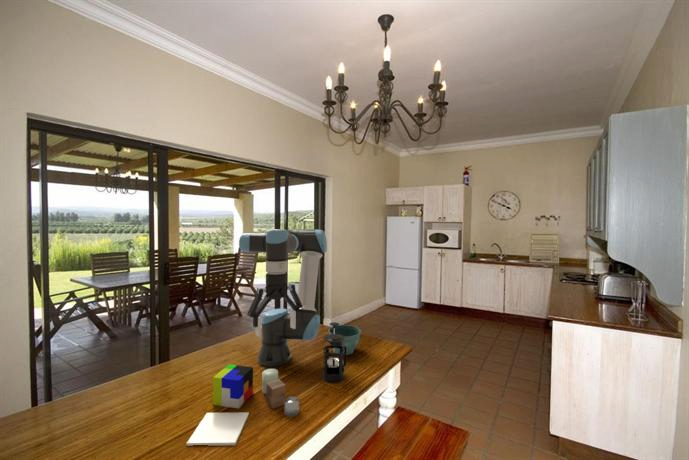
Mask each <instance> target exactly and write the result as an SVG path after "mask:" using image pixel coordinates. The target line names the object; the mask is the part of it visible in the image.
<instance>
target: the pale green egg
mask: <svg viewBox="0 0 689 460" xmlns="http://www.w3.org/2000/svg"><path fill="white" fill-rule="evenodd" d="M278 379H279V370H278V369H276V368H267V369H264V370H263V371H262V373H261V387H262V388H261V392H262V394H264V395H266V383H269V382H272V381H275V380H278Z"/></svg>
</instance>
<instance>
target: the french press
mask: <svg viewBox="0 0 689 460" xmlns="http://www.w3.org/2000/svg"><path fill="white" fill-rule="evenodd" d="M338 325H340V323H339V322H334V321H332V322H330V323H329V326H331V327H333V328H334V334H329V333H328V334H326V335H324V336H323V338H322V339H323V341H324V343H326V342H328V344H329V345H326V346H324V347H323V348H322V350H323V356H324V360H323V368H322V377H321V378H322V380H323V381H324V382H327V383H331V384H338V383H340V382H343V381H344V380H345V377H346V375H345V367H347V355H346V346H344V345H343V343H344V339H345V337H344V336H343V335H340V334H335V326H338ZM341 345H342V346H341ZM334 348H339V349H340V353H336V352H335V349H334ZM330 349H333V353H331V352H330ZM332 373H335V374H332Z"/></svg>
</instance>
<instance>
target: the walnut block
mask: <svg viewBox="0 0 689 460" xmlns="http://www.w3.org/2000/svg"><path fill="white" fill-rule="evenodd" d="M265 396H266V398H265V399H266V404H267V405H268V406H269V407H270V408H271V409H272V410H273V409H276V408H279V407H281V406H284V400H285V399H286V384H285V383H284V381H282V380H281V379H279V378H278V380H275V381H272V382H269V383H266V394H265Z"/></svg>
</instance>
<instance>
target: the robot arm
mask: <svg viewBox="0 0 689 460" xmlns="http://www.w3.org/2000/svg"><path fill="white" fill-rule="evenodd" d="M327 242H328V241H327V236H326V233H325V231H324V230H323V229H316V228H314V229H313V228H312V229H307V228H306V229H300V228H294V229H293V228H292V229H284V228H283V229H282V228H281V229H280V228H277V229H275V228H273V229H271V228H270V229H267V230H266V232H265V233H264V232H263V233H260V232H259V233H255V232H254V233H251V232H247V233H245V232H244V233H242V234H241V235H240V237H239V240H238V245H239V246H238V247H239V249H240V251H241V252H243V253H261V254H262V253H265V272H266V273H265V287H262V288H261V287H257V288H256V292H255V293H256V294H255V296H254V298H253V301H252V303H251V304H250V307H249V309H248V312H247V316H248V317H250V318H252V326H253V328H255V329H254V332H255V333H254V335H255V336H256V337H257V338H261V346H260V349H259V352H258V355H257V363H258V364H259V365H261V366H264V367H271V368H272V367H279V366H283V365H286V364H287V363H289V362H290V361H291V359H292V358H291V357H292V355H291V350H290V347H289V344H288V340H293V341H294V340H295V341H303V342H307V341H313V340H315V339H316V337H317V335H318V333H319V329H320V325H321V324H320V323H321V316H320V315H319V314H318V311H317V309H316V308H315V303H316V295H317V294H316V293H317V283H318V276H319V265H320V264H319V263H320V259H322V257H323V256H324V255H323V254H325V253H327V250H328V247H327V246H328V243H327ZM294 252H298V253H299V255H300V256H301V264H300V274H299V280H298V281H299V282H298V290H297V291H296V285H295V284H293V283H289V284H288V273H287V272H288V259H289V258H288V257H289V256H288V255H289V254H291V253H294ZM287 291H289V293H290V295H291V297H292V299H293V300H292V299H291V298H290V296H289V295H288V294H287ZM265 293H266V294H265ZM264 294H265V295H264ZM263 295H264V296H263ZM262 297H263V299H262ZM278 299H279V300H280V299H284V301H285V302H286V303H287V304H288V305H289V306H290V308H291V309H290V312H288V309H286V308H274V309H271V310H267V311H265V312H264V313H263V311H264V310H265V308H266V307H267V306H268V304H270V302H271V301H272V300H278ZM261 300H262V301H261ZM262 313H263V314H262ZM261 314H262V317H260V315H261Z"/></svg>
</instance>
